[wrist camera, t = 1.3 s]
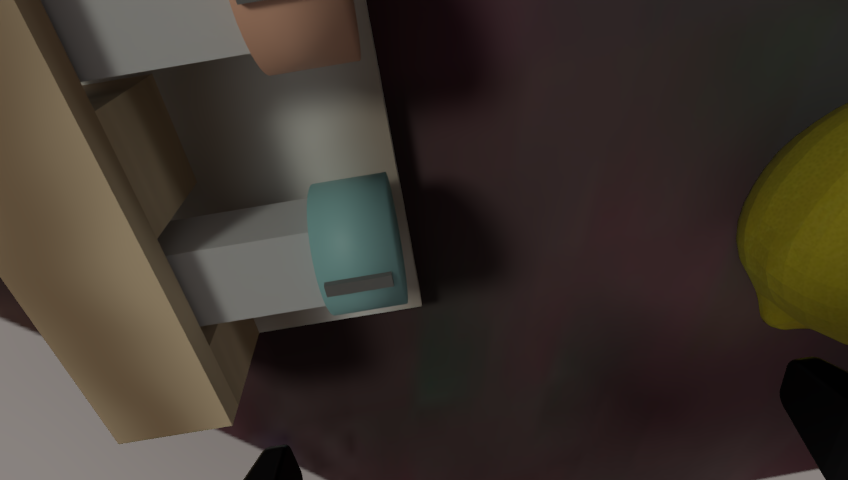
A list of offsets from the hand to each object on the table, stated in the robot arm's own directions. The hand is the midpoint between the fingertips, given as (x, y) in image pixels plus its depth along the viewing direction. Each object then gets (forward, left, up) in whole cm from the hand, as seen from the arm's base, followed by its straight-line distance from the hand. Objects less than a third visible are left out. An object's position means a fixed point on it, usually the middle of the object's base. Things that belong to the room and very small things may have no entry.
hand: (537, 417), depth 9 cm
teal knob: (+7, +1, -11) cm, 13 cm away
